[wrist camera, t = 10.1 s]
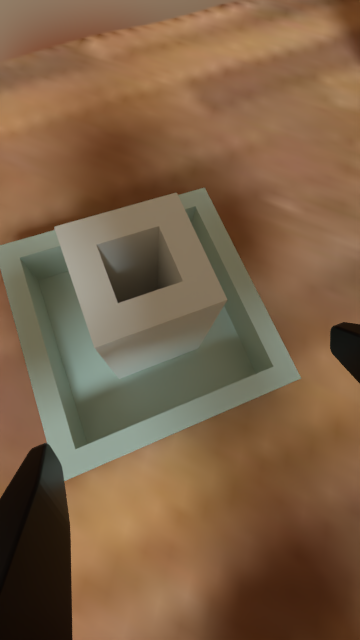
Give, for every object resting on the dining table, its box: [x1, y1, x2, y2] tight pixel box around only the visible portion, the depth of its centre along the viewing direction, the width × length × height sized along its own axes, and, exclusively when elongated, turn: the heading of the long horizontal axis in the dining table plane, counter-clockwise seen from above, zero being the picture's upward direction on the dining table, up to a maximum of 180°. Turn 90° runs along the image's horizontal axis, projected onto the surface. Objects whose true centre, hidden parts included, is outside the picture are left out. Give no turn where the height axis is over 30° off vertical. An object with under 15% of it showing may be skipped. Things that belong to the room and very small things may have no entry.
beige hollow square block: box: [54, 192, 227, 379], centre depth 17 cm, size 6×6×9 cm
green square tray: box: [0, 188, 301, 481], centre depth 20 cm, size 14×14×4 cm
